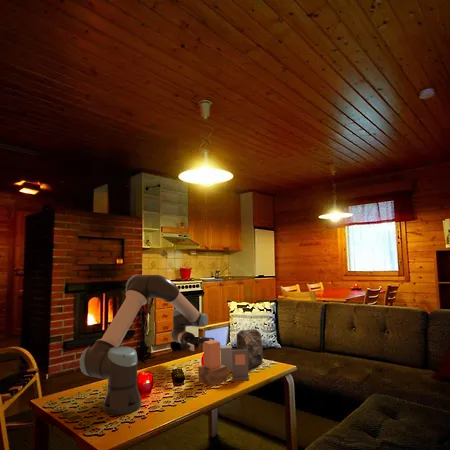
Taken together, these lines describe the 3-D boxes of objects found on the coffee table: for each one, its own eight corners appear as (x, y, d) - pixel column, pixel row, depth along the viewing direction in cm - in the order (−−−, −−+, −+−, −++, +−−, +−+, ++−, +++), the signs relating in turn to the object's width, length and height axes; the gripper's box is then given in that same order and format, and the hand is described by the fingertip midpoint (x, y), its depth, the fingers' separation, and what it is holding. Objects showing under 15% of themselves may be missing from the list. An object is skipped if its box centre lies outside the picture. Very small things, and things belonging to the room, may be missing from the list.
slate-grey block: (221, 371, 186) (220, 348, 187) (220, 367, 192) (220, 345, 193) (232, 370, 186) (231, 347, 187) (231, 367, 192) (231, 345, 193)
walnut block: (198, 381, 172) (198, 366, 172) (213, 376, 179) (213, 362, 179) (211, 386, 165) (211, 371, 165) (226, 380, 171) (226, 366, 172)
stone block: (244, 371, 185) (243, 333, 187) (233, 367, 191) (232, 330, 193) (267, 364, 196) (266, 328, 198) (256, 360, 203) (255, 326, 205)
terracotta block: (204, 366, 173) (203, 341, 174) (214, 363, 176) (213, 339, 178) (210, 369, 168) (209, 343, 169) (220, 366, 172) (220, 341, 173)
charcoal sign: (233, 380, 170) (232, 351, 172) (232, 378, 174) (231, 349, 176) (249, 380, 171) (248, 351, 172) (248, 377, 175) (247, 349, 176)
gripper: (205, 342, 204) (225, 349, 186) (166, 349, 190) (183, 357, 172) (205, 329, 204) (225, 335, 187) (166, 335, 191) (183, 342, 173)
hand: (205, 346), depth 179 cm, fingers open, 13 cm apart
